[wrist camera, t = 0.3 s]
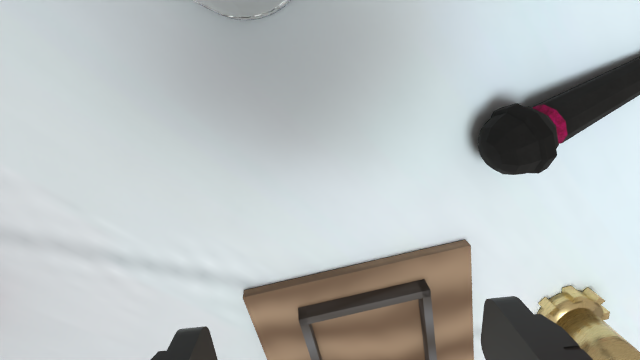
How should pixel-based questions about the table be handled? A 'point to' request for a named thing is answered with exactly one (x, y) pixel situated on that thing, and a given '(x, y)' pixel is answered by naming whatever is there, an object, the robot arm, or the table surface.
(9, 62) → the table surface
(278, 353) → the carrier plate
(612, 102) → the microphone
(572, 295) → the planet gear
